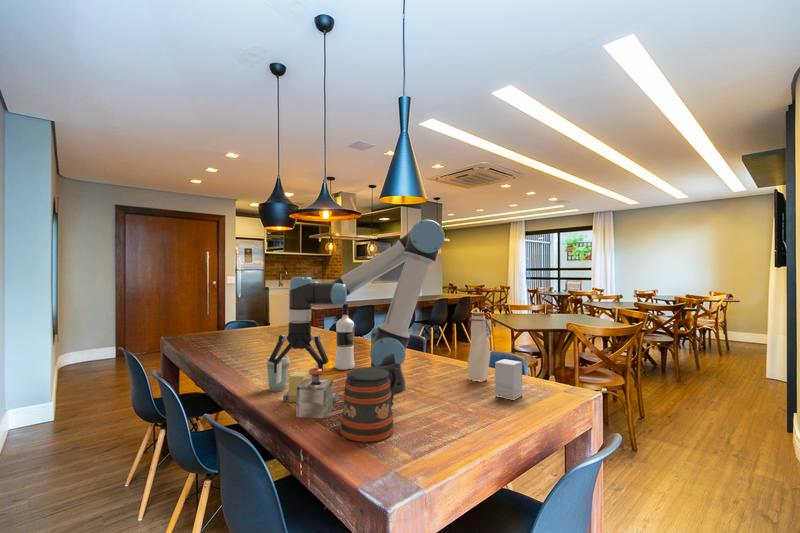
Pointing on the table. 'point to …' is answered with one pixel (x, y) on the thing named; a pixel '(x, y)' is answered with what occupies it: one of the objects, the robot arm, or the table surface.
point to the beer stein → (369, 402)
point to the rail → (335, 397)
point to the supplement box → (508, 378)
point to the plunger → (315, 375)
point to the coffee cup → (272, 375)
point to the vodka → (344, 342)
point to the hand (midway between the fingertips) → (298, 383)
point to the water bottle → (479, 347)
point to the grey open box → (314, 399)
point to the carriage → (296, 384)
